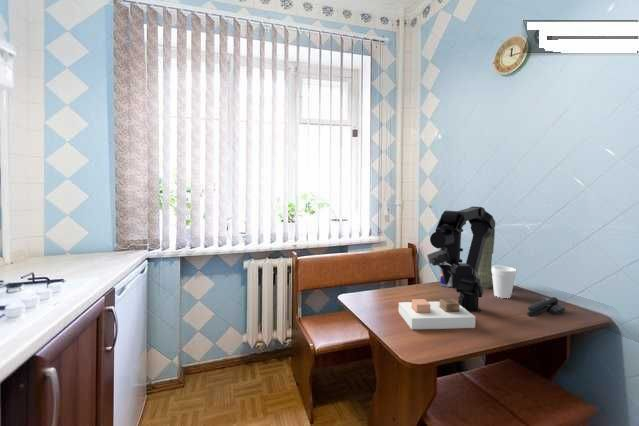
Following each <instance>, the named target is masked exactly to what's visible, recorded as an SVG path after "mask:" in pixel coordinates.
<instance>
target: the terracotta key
mask: <svg viewBox="0 0 639 426" xmlns="http://www.w3.org/2000/svg"><path fill="white" fill-rule="evenodd" d="M411 302H412V309H413V310H414V311H415V312H416V313H430V304H429V303H428V302H429V301H427V299H425V298H422V299H421V298H417V299H414V298H413V299H411Z"/></svg>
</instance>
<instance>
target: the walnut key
mask: <svg viewBox="0 0 639 426" xmlns="http://www.w3.org/2000/svg"><path fill="white" fill-rule="evenodd" d="M439 302H440V308H441V309H442V310H444V311H445V312H459V306H460V304H459V303H458V301H457V300H456V299H454V298H440V299H439Z"/></svg>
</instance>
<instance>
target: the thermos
mask: <svg viewBox="0 0 639 426" xmlns="http://www.w3.org/2000/svg"><path fill="white" fill-rule="evenodd" d="M495 233H496V228H494V229H493V231H492V234H491V235H490V236H489V237H487V238H486V240H485V244H484V248H483V252H482V256H481V260H480V264H479V268H478V275H479V278H480V285H481V287H482V289H484V288H488V289H491V288H492V284H493V277H492V261H493V254H494V246H495ZM490 287H491V288H490Z"/></svg>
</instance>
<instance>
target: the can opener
mask: <svg viewBox="0 0 639 426" xmlns="http://www.w3.org/2000/svg"><path fill="white" fill-rule="evenodd" d="M527 310H528V312H526V315H527V316H528V317H535V316H537V315H541V314H542V313H544V312H547V311H549V313H551V314H553V313H554V314H553V315H556V314H557V315H560V313H561V314H563V313H564V311H565V310H566V307H564V306H563V305H561V304H559V300H558V298H557V297H555V296H552V297H549V298H548V297H545V296H544V297H542V300H540V301H537V302H535V303H532V304H530V305H529V306H528V307H527Z"/></svg>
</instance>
